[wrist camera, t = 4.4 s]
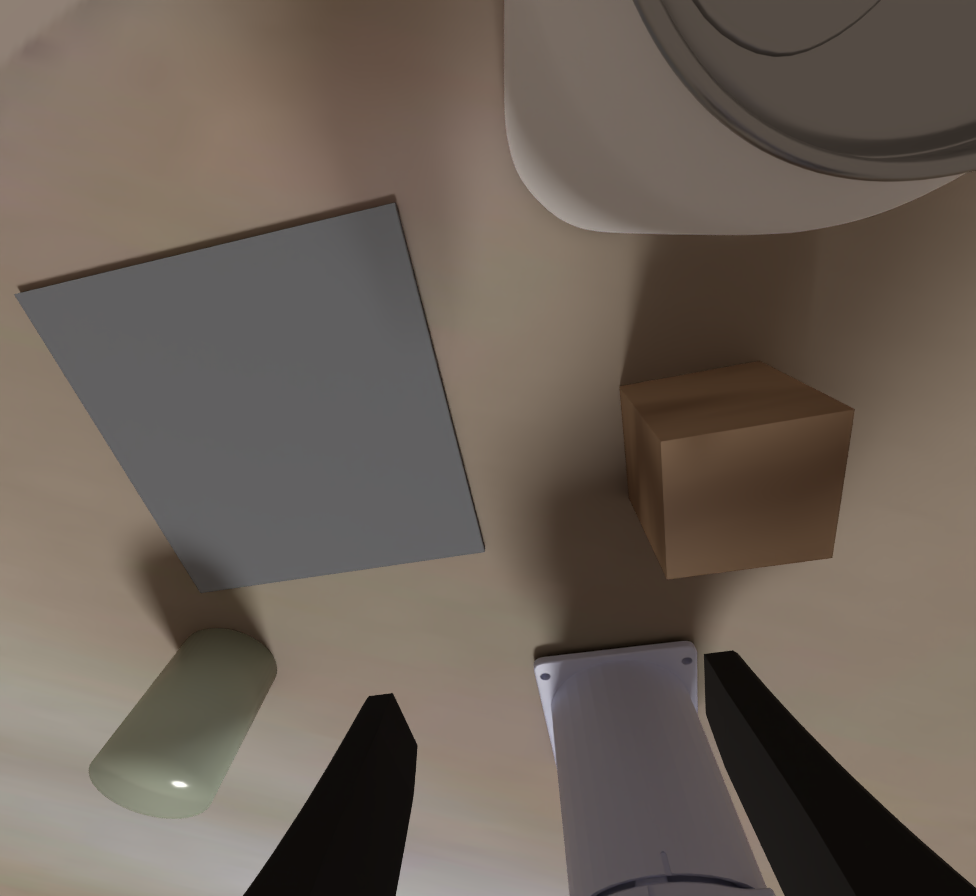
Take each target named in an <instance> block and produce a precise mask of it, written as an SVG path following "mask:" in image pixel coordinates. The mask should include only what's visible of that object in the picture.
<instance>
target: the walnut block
mask: <svg viewBox="0 0 976 896" xmlns="http://www.w3.org/2000/svg"><path fill="white" fill-rule="evenodd" d="M620 398H621V410H622V422H623V434H624V446H625V458H626V470H627V482H628V494H629V499H630V502H631V504H632V506H633V508H634V510H635V512H636V514H637V517H638V519H639V521H640V523H641V525H642V527H643V529H644V532H645V534H646V536H647V538H648V540H649V542H650V544H651V546H652V549H653V551H654V553H655V555H656V557H657V559H658V561H659V564H660V566H661V568H662V570H663V572H664V574H665V576H666V578H667V580H668V579H676V578H684V577H691V576H699V575H706V574H714V573H722V572H729V571H737V570H744V569H752V568H759V567H767V566H775V565H782V564H790V563H797V562H805V561H812V560H820V559H828V558H832V556H833V550H834V543H835V537H836V530H837V523H838V517H839V510H840V504H841V497H842V490H843V484H844V477H845V471H846V464H847V458H848V451H849V444H850V438H851V431H852V425H853V418H854V411H855V409H853V408H851V407H849V406H847V405H845V404H843V403H841V402H839V401H837V400H835V399H833V398H831V397H829V396H828V395H826V394H824V393H822V392H820V391H818V390H816V389H814V388H812V387H810V386H808V385H806V384H804V383H802V382H800V381H798V380H796V379H794V378H792V377H790V376H788V375H786V374H784V373H782V372H781V371H779V370H777V369H775V368H773V367H771V366H769V365H767V364H765V363H763V362H761V361H756V362H750V363H745V364H739V365H734V366H728V367H723V368H717V369H711V370H706V371H700V372H695V373H689V374H684V375H678V376H673V377H667V378H662V379H656V380H651V381H645V382H640V383H634V384H629V385H623V386H620Z"/></svg>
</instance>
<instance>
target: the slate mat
mask: <svg viewBox="0 0 976 896" xmlns="http://www.w3.org/2000/svg"><path fill="white" fill-rule="evenodd" d="M14 295H15V297H16V298H17V300H18V301H19V303H20V305H21V306H22V308H23V309H24V311H25V313H26V314H27V316H28V317H29V319H30V321H31V322H32V324H33V325H34V327H35V329H36V330H37V332H38V333H39V335H40V337H41V338H42V340H43V341H44V343H45V345H46V346H47V348H48V349H49V351H50V353H51V354H52V356H53V357H54V359H55V361H56V362H57V364H58V365H59V367H60V369H61V370H62V372H63V373H64V375H65V377H66V378H67V380H68V381H69V383H70V385H71V386H72V388H73V389H74V391H75V393H76V394H77V396H78V397H79V399H80V401H81V402H82V404H83V405H84V407H85V409H86V410H87V412H88V413H89V415H90V417H91V418H92V420H93V421H94V423H95V425H96V426H97V428H98V430H99V431H100V433H101V434H102V436H103V438H104V439H105V441H106V442H107V444H108V446H109V447H110V449H111V450H112V452H113V454H114V455H115V457H116V458H117V460H118V462H119V463H120V465H121V466H122V468H123V470H124V471H125V473H126V474H127V476H128V478H129V479H130V481H131V482H132V484H133V486H134V487H135V489H136V490H137V492H138V494H139V495H140V497H141V498H142V500H143V502H144V503H145V505H146V506H147V508H148V510H149V511H150V513H151V514H152V516H153V518H154V519H155V521H156V522H157V524H158V526H159V527H160V529H161V530H162V532H163V534H164V535H165V537H166V538H167V540H168V542H169V543H170V545H171V546H172V548H173V550H174V551H175V553H176V554H177V556H178V558H179V559H180V561H181V562H182V564H183V566H184V567H185V569H186V570H187V572H188V574H189V575H190V577H191V579H192V580H193V582H194V583H195V585H196V587H197V588H198V590H199V591H200V593H204V592H211V591H218V590H225V589H232V588H239V587H246V586H252V585H259V584H266V583H273V582H280V581H287V580H294V579H301V578H308V577H315V576H322V575H329V574H336V573H342V572H349V571H356V570H363V569H370V568H377V567H384V566H391V565H398V564H405V563H412V562H419V561H425V560H432V559H439V558H446V557H453V556H460V555H467V554H474V553H481V552H485V547H484V543H483V540H482V536H481V532H480V528H479V524H478V520H477V516H476V512H475V509H474V505H473V501H472V497H471V493H470V489H469V485H468V481H467V477H466V474H465V470H464V466H463V462H462V458H461V454H460V450H459V446H458V443H457V439H456V435H455V431H454V427H453V423H452V419H451V415H450V411H449V408H448V404H447V400H446V396H445V392H444V388H443V384H442V380H441V377H440V373H439V369H438V365H437V361H436V357H435V353H434V349H433V345H432V342H431V338H430V334H429V330H428V326H427V322H426V318H425V314H424V311H423V307H422V303H421V299H420V295H419V291H418V287H417V283H416V280H415V276H414V272H413V268H412V264H411V260H410V256H409V252H408V248H407V245H406V241H405V237H404V233H403V229H402V225H401V221H400V217H399V214H398V210H397V206H396V203H391V204H387V205H383V206H379V207H375V208H371V209H366V210H362V211H358V212H354V213H350V214H346V215H342V216H337V217H333V218H329V219H325V220H321V221H317V222H313V223H308V224H304V225H300V226H296V227H292V228H288V229H283V230H279V231H275V232H271V233H267V234H263V235H259V236H254V237H250V238H246V239H242V240H238V241H234V242H229V243H225V244H221V245H217V246H213V247H209V248H205V249H200V250H196V251H192V252H188V253H184V254H180V255H176V256H171V257H167V258H163V259H159V260H155V261H151V262H146V263H142V264H138V265H134V266H130V267H126V268H122V269H117V270H113V271H109V272H105V273H101V274H97V275H93V276H88V277H84V278H80V279H76V280H72V281H68V282H63V283H59V284H55V285H51V286H47V287H43V288H39V289H34V290H30V291H26V292H22V293H18V294H14Z"/></svg>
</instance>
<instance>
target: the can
mask: <svg viewBox="0 0 976 896" xmlns="http://www.w3.org/2000/svg"><path fill="white" fill-rule="evenodd" d="M504 108H505V124H506V132H507V138H508V143H509V148H510V152H511V156H512V159H513V162H514V165H515V168H516V170H517V172H518V174H519V176H520V178H521V179H522V181H523V182H524V184H525V186H526V187H527V188H528V190H529V191H530V192H531V193H532V195H533V196H534V197H535V198H536V199H537V200H538V201H539V202H540V203H541V204H542V205H543V206H544V207H545V208H546V209H548V210H549V211H550V212H551V213H552V214H554V215H555V216H557V217H558V218H560V219H561V220H563V221H565V222H566V223H569V224H571V225H573V226H576V227H579V228H582V229H586V230H591V231H598V232H612V233H640V234H681V235H762V234H782V233H794V232H803V231H809V230H815V229H821V228H826V227H832V226H837V225H841V224H846V223H850V222H854V221H857V220H861V219H865V218H868V217H871V216H874V215H877V214H880V213H883V212H886V211H888V210H891V209H894V208H896V207H899V206H901V205H904V204H906V203H908V202H911V201H913V200H915V199H917V198H919V197H922V196H924V195H926V194H928V193H930V192H932V191H934V190H936V189H938V188H940V187H942V186H944V185H946V184H948V183H950V182H951V181H953V180H955V179H957V178H959V177H960V176H962V175H964V174H966V173H968V172H972V171H976V0H504Z"/></svg>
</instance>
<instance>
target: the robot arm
mask: <svg viewBox="0 0 976 896" xmlns="http://www.w3.org/2000/svg"><path fill="white" fill-rule="evenodd" d="M704 670H705V702H706V716H707V718H708V721H709V724H710V727H711V730H712V733H713V735H714V738H715V741H716V744H717V747H718V749H719V752H720V755H721V757H722V760H723V763H724V766H725V768H726V770H727V772H728V775H729V777H730V779H731V781H732V783H733V786H734V788H735V790H736V792H737V794H738V796H739V799H740V801H741V803H742V805H743V807H744V809H745V812H746V814H747V816H748V818H749V820H750V822H751V824H752V827H753V829H754V831H755V833H756V835H757V837H758V839H759V842H760V844H761V846H762V848H763V850H764V852H765V854H766V857H767V859H768V861H769V863H770V865H771V867H772V870H773V872H774V874H775V876H776V878H777V880H778V882H779V885H780V887H781V889H782V891H783V893H784V895H785V896H976V888H975V887H974V886H973V885H972V884H971V883H969V882H968V881H967V880H966V879H965V878H963V877H962V876H961V875H960V874H959V873H958V872H957V871H955V870H954V869H953V868H952V867H951V866H950V865H949V864H947V863H946V862H945V861H944V860H943V859H942V858H940V857H939V856H938V855H937V854H936V853H935V852H934V851H932V850H931V849H930V848H929V847H928V846H927V845H926V844H924V843H923V842H922V841H921V840H920V839H919V838H918V837H917V836H916V835H914V834H913V833H912V832H911V831H910V830H909V829H908V828H907V827H906V826H904V825H903V824H902V823H901V822H900V821H899V820H898V819H897V818H896V817H895V816H894V815H892V814H891V813H890V812H889V811H888V810H887V809H886V808H885V807H884V806H883V805H882V804H881V803H880V802H879V801H878V800H876V799H875V798H874V797H873V796H872V795H871V794H870V793H869V792H868V791H867V790H866V789H865V788H864V787H863V786H862V785H861V784H860V783H859V782H858V781H856V780H855V779H854V778H853V777H852V776H851V775H850V774H849V773H848V772H847V771H846V770H845V769H844V768H843V767H842V766H841V765H840V764H839V763H838V762H837V761H836V760H835V759H834V758H833V757H832V756H831V755H830V754H829V753H828V752H827V751H826V750H825V749H824V748H823V747H822V746H821V745H820V744H819V743H818V742H817V741H816V739H815V738H814V737H813V736H812V735H811V734H810V733H809V732H808V731H807V730H806V729H805V728H804V727H803V726H802V725H801V724H800V723H799V722H798V721H797V720H796V719H795V718H794V717H793V716H792V715H791V713H790V712H789V711H788V710H787V709H786V708H785V707H784V706H783V705H782V704H781V703H780V701H779V700H778V699H777V698H776V697H775V696H774V695H773V694H772V693H771V692H770V690H769V689H768V688H767V687H766V686H765V685H764V684H763V682H762V681H761V680H760V679H759V678H758V677H757V676H756V674H755V673H754V672H753V671H752V670H751V669H750V667H749V666H748V665H747V664H746V663H745V661H744V660H743V659H742V658H741V657H740V655H739V654H738V653H736V652H735V651H725V652H717V653H709V654H704ZM534 672H535V677H536V681H537V685H538V689H539V694H540V698H541V702H542V707H543V711H544V715H545V719H546V724H547V728H548V732H549V737H550V741H551V745H552V749H553V754H554V758H555V762H556V767H557V773H558V783H559V793H560V804H561V814H562V824H563V834H564V844H565V854H566V864H567V874H568V884H569V894H570V896H775V894H774V891H773V890H772V889H771V888H767V887H766V885H765V882H764V880H763V877H762V875H761V872H760V870H759V867H758V865H757V862H756V860H755V857H754V855H753V852H752V850H751V847H750V845H749V842H748V840H747V837H746V835H745V832H744V830H743V827H742V825H741V822H740V820H739V817H738V815H737V812H736V810H735V807H734V805H733V802H732V800H731V797H730V795H729V792H728V790H727V787H726V785H725V782H724V780H723V777H722V775H721V772H720V770H719V767H718V765H717V762H716V760H715V757H714V755H713V752H712V750H711V747H710V745H709V742H708V740H707V737H706V735H705V732H704V730H703V727H702V725H701V722H700V720H699V717H698V696H697V650H696V648H695V646H694V644H693V643H692V642H690V641H678V642H669V643H660V644H652V645H643V646H634V647H626V648H617V649H608V650H600V651H591V652H582V653H574V654H565V655H556V656H548V657H541V658H538V659H536V660H535V662H534ZM416 759H417V743H416V741H415V739H414V737H413V735H412V733H411V731H410V729H409V726H408V724H407V722H406V720H405V718H404V716H403V714H402V712H401V709H400V707H399V705H398V703H397V701H396V699H395V697H394V695H393V693H391V694H383V695H375V696H369V697H368V698H367V699H366V701H365V703H364V704H363V706H362V708H361V710H360V711H359V713H358V715H357V717H356V718H355V720H354V722H353V724H352V725H351V727H350V729H349V731H348V732H347V734H346V736H345V738H344V739H343V741H342V743H341V745H340V746H339V748H338V750H337V751H336V753H335V755H334V757H333V758H332V760H331V762H330V763H329V765H328V767H327V768H326V770H325V772H324V773H323V775H322V777H321V778H320V780H319V782H318V783H317V785H316V787H315V788H314V790H313V791H312V793H311V795H310V796H309V798H308V800H307V801H306V803H305V805H304V806H303V808H302V809H301V811H300V812H299V814H298V816H297V817H296V819H295V820H294V822H293V823H292V825H291V826H290V828H289V829H288V831H287V832H286V834H285V835H284V837H283V838H282V840H281V841H280V843H279V845H278V846H277V848H276V849H275V851H274V852H273V854H272V855H271V857H270V858H269V860H268V861H267V862H266V864H265V865H264V867H263V868H262V870H261V871H260V873H259V874H258V875H257V877H256V878H255V880H254V881H253V882H252V884H251V885H250V887H249V888H248V890H247V891H246V892H245V894H244V895H243V896H396V891H397V885H398V880H399V874H400V869H401V864H402V858H403V853H404V847H405V842H406V836H407V831H408V825H409V819H410V814H411V808H412V802H413V796H414V785H415V774H416Z"/></svg>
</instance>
